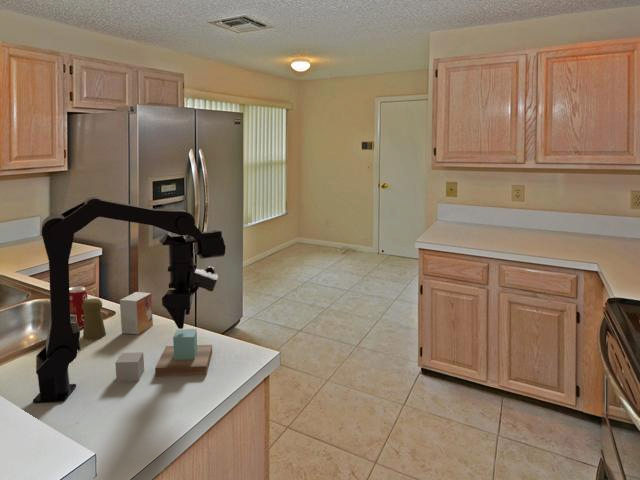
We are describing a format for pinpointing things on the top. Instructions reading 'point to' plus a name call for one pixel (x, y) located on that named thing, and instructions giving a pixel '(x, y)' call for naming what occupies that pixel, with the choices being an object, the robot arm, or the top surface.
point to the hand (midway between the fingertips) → (184, 321)
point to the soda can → (77, 305)
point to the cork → (93, 320)
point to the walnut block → (184, 363)
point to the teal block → (185, 344)
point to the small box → (136, 313)
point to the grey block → (129, 367)
